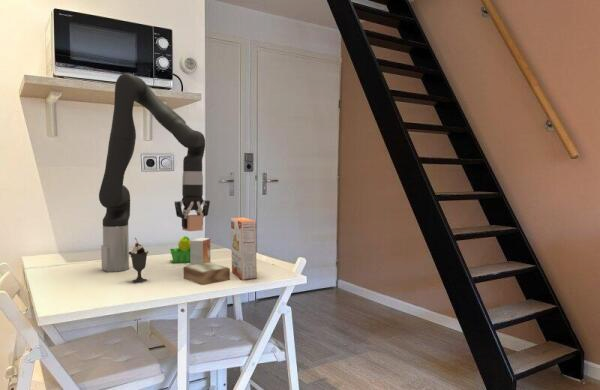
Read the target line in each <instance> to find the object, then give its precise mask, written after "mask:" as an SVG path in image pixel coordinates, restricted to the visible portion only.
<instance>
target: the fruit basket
mask: <svg viewBox="0 0 600 390" xmlns="http://www.w3.org/2000/svg"><path fill="white" fill-rule="evenodd" d="M190 241H191V240H190V238H189V236H187V235H183V237H181V238H180V240H179V241H178V244H177V246H178V247H176V248H170V249H169V250H170V254H171V258H172V262H173V263H174V264H177V263H178V264H179V263H190Z"/></svg>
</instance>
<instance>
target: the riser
mask: <svg viewBox="0 0 600 390" xmlns="http://www.w3.org/2000/svg"><path fill="white" fill-rule="evenodd" d="M230 273H231V270H230V268H229V267H228V266H224V265H220V264H218V263H217V264H216V263H213V262H211V261H210V262H209V263H202V264H196V265H191V264H190V265H185V266H183V279H185V280H189V281H191V282H194V283H197V284H199V285H201V286H203V285H208V284H214V283H219V282H224V281H230V280H231V277H230V275H231V274H230Z"/></svg>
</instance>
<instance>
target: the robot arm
mask: <svg viewBox="0 0 600 390" xmlns="http://www.w3.org/2000/svg"><path fill="white" fill-rule="evenodd" d="M135 102H136V103H138V104H139V105H140V106H142V107H144V109H146V110H147V111H149V113H151V115H152V116H153V118H155V120H156V121H157V122H158V123H159V124H160V125H161V126H162V127H163V128H165V130H167V131H168V132H169V133H170V134H171V135H173V137H174V138H175V139H176V140H177V141H178V143H180V145H182V147H184V148H187V153H186V156H184V157H183V162H182V164H183V165H182V171H183V172H182V181H181V182H182V183H181V185H182V188H181V189H182V191H181V193H182V199H181V200H177V201H174V207H175V208H174V209H175V214H176V217H177V218H180V219H181V227H183V229H187V216H188V215H190V212H191V211H194V212H195V213H196V215H200V216H203V218H205V217H208V215H209V209H210V204H211V201H210V200H208V199H207V200H206V199H205V200H204V199H203V195H204V175H203V158H204V155H205V154H204V153H205V149H206V139H205V136H204V134H203V132H201V131H198V130H194V129H192V128H191V127H190V126H189V125H188V124H187V122H186V120H184V118H183V117H181V116H180V114H178V113H177V112H176V111H174V110H173V109H172V108H171V107H170V106H168V105H167V104H166V103H165V102H163V101H162V100H161V98H159V97H158V96H157V95H156V93H154V91H153V90H152V89H151V88H150V87H149V85H148V84H147V83H146V81H144V79H142V78H140V77H138V76H135V75H134V74H132V73H129V72H124V73H122V74H120V75H119V76H118V77H117V79H116V82H115V86H114V104H113V106H114V108H113V112H112V113H113V114H112V121H111V127H110V134H109V140H108V146H107V147H108V148H107V154H106V161H105V170H104V173H103V176H102V180H101V184H100V185H101V186H100V188H99V190H98V191H99V193H98V200H99V202H100V204H101V206H102V207H104V208H105V210H106V212H105V215H104V217H103V218H102V245H100V246H101V247H100V250H101V252H100V253H101V255H100V256H101V259H100V260H101V270H102V271H104V272H106V273H109V272H112V273H113V272H121V271H126V270H129V269H130V255H129V252H130V249H129V246H130V245H129V244H130V243H129V219H130V216H131V194H130V191H129V189H128V188H127V186H125V185H124V180H125V173H126V171H127V168H128V166H129V164H130V163H131V160H132V158H133V154H134V151H135V148H136V147H135V146H136V139H137V131H136V126H135V121H134V118H133V117H134V116H133V115H134V114H133V111H134V104H135ZM182 206H183V209H182Z"/></svg>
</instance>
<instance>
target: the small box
mask: <svg viewBox="0 0 600 390" xmlns="http://www.w3.org/2000/svg"><path fill="white" fill-rule="evenodd" d="M209 262H210V263H211V238H209V237H197V238H194V239H193V240H190V262H189V263H190V265H196V264H202V263H209Z"/></svg>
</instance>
